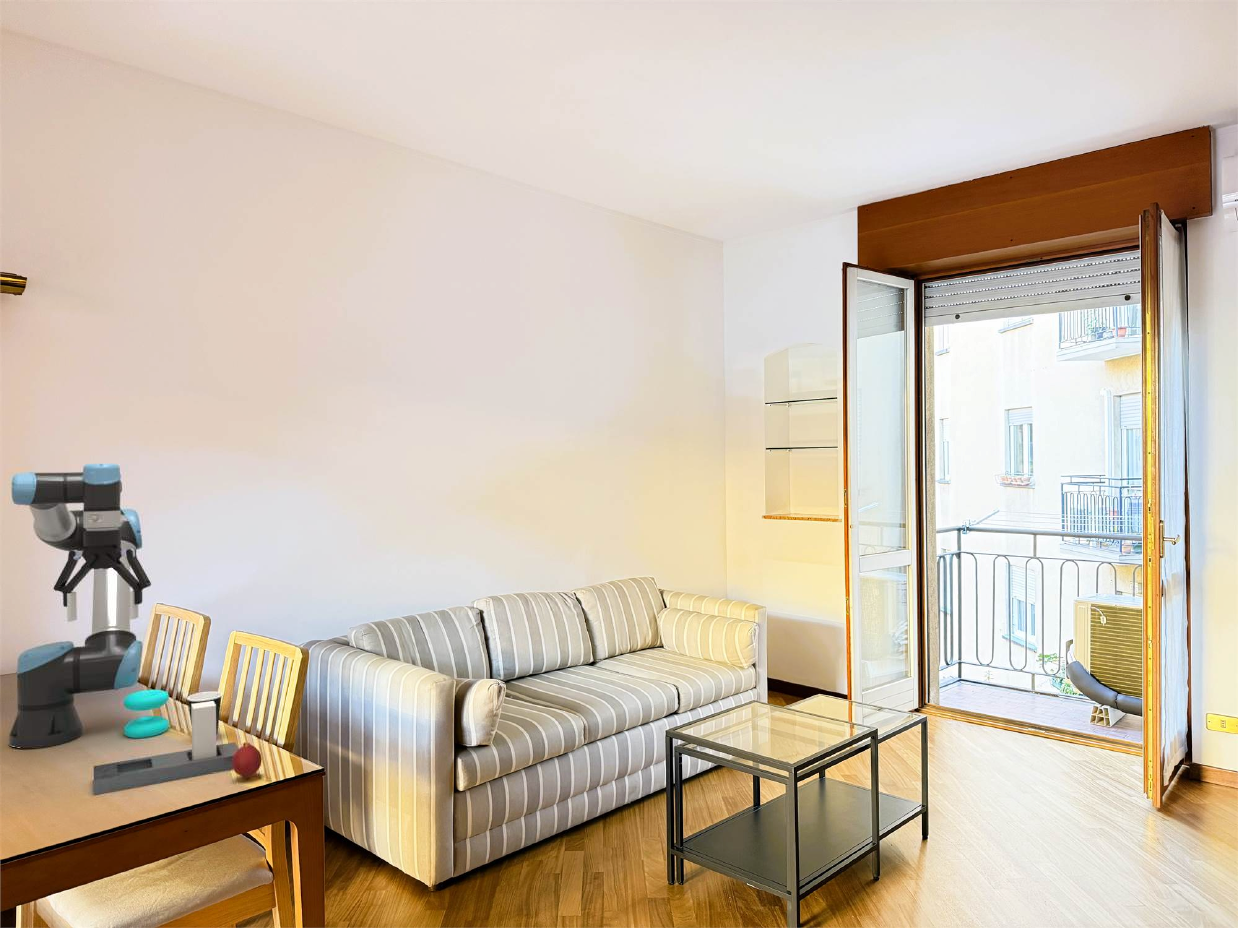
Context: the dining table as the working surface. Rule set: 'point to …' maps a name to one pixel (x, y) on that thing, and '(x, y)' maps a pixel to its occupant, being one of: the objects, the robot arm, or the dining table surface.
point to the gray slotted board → (160, 769)
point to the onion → (246, 760)
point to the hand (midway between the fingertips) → (103, 619)
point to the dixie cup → (206, 698)
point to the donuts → (149, 723)
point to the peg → (203, 730)
